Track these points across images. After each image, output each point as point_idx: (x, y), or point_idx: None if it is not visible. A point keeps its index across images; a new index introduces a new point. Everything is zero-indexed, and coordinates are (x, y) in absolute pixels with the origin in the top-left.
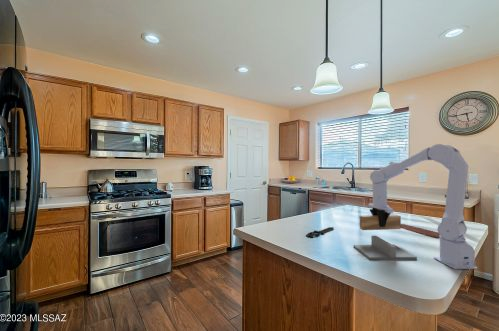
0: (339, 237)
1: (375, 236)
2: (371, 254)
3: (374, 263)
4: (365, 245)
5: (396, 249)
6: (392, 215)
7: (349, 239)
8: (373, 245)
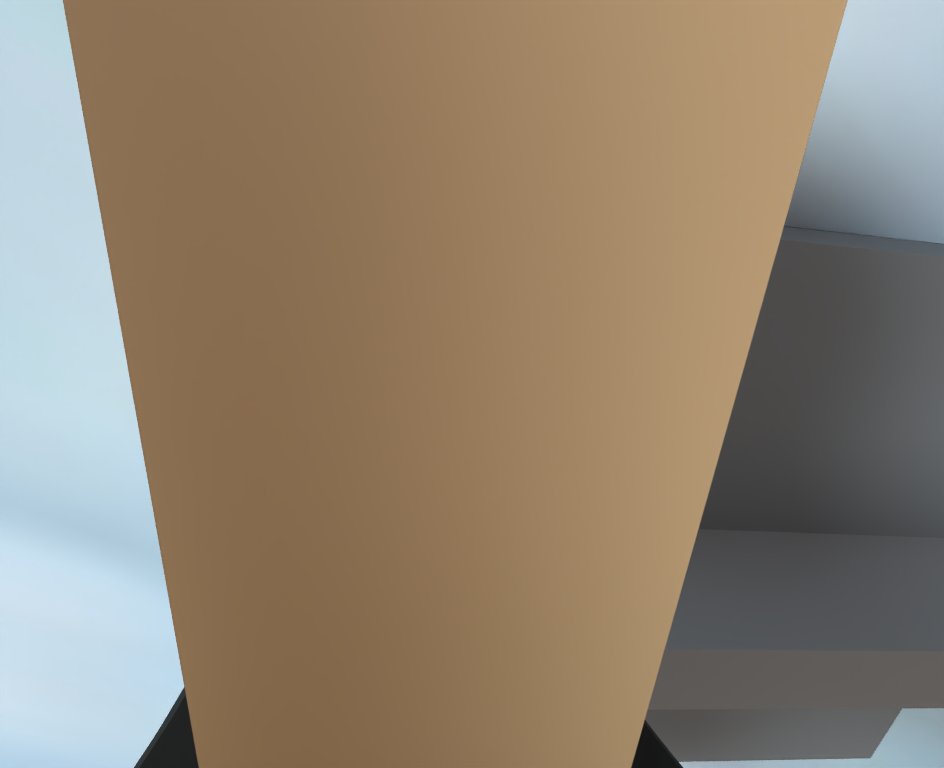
0: (26, 760)
1: None
2: (818, 719)
3: (930, 728)
4: None
5: (823, 357)
6: (431, 460)
7: (129, 679)
8: None
